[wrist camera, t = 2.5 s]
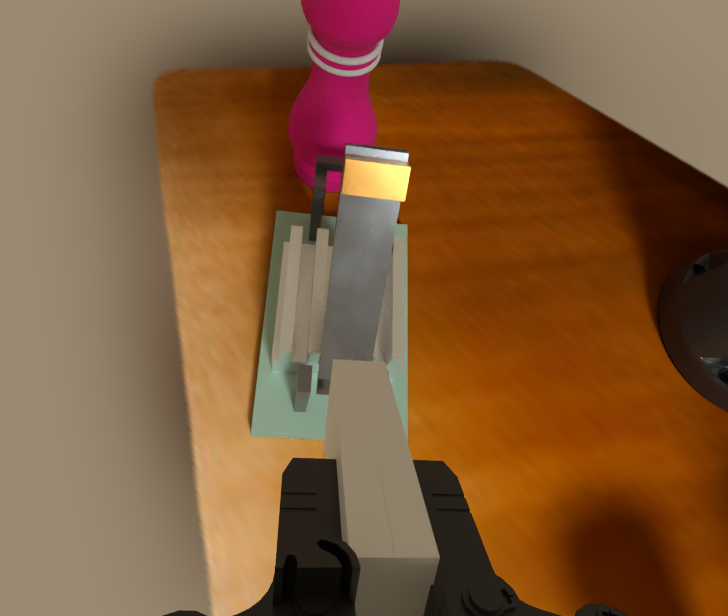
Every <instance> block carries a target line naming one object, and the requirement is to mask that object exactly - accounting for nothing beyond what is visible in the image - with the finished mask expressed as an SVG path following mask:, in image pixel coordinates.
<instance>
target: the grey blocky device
mask: <svg viewBox="0 0 728 616" xmlns="http://www.w3.org/2000/svg"><path fill="white" fill-rule="evenodd" d="M342 166H343V158H342V157H334V156H326V155H319V154H317V158H316V168H315V178H314V188H313V198H312V207H311V217H310V228H309V241H316V243H315V245H312V244H303V243H302V234H303V226H294V225H291V235H290V242H284V246H283V255H282V265H281V274H280V284H279V293H278V303H277V312H276V321H275V331H274V340H273V350H272V359H271V361H272V371H276V372H290V373H298V377H297V384H296V394H295V406H294V412H306V408H307V404H308V401H309V397H310V393H311V381H312V374H318V370H319V362H320V353H321V345H322V336H323V328H324V319H325V311H326V302H327V294H328V285H329V276H330V268H331V259H332V251H333V247H332V246H328V237H329V229H322V228H320V226H321V219H322V212H323V205H324V198H325V191H326V180H327V171H335V172H342ZM404 360H405V237H395V236H394V240H393V246H392V252H391V257H390V263H389V269H388V274H387V280H386V286H385V291H384V297H383V302H382V308H381V314H380V319H379V325H378V331H377V336H376V342H375V348H374V353H373V359H372V361H375V362H385V364H386V368H387V371H388V375H389V378H390V379H391V380H395V379H396V377H397V376H398V375H399V374H400V373H401V372H402V371H403V370H404Z"/></svg>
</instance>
